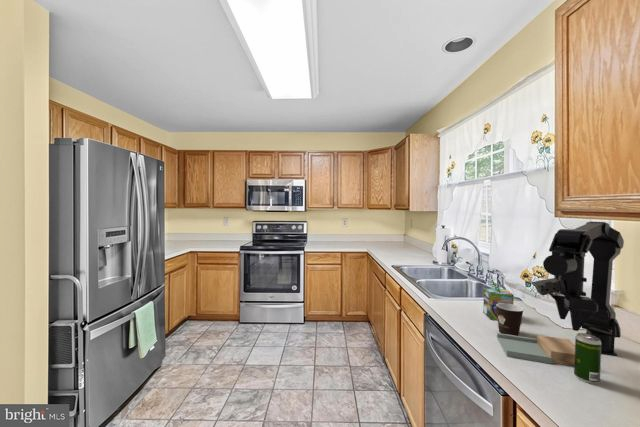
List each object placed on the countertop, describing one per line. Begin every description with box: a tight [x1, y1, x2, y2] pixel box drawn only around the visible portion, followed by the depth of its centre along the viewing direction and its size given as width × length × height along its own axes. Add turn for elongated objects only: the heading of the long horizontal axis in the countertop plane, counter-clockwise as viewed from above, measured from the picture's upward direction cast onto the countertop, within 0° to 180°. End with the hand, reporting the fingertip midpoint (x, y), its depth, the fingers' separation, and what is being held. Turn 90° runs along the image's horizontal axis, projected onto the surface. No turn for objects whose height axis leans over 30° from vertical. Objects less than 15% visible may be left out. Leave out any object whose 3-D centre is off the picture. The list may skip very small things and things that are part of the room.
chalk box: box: [482, 281, 515, 321], centre depth 127 cm, size 9×9×15 cm
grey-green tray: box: [496, 332, 553, 364], centre depth 98 cm, size 12×14×2 cm
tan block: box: [536, 334, 575, 367], centre depth 94 cm, size 9×12×4 cm
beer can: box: [573, 332, 602, 385], centre depth 81 cm, size 5×5×12 cm
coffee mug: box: [492, 303, 524, 336], centre depth 112 cm, size 12×9×10 cm
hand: (568, 324), depth 86 cm, fingers open, 9 cm apart
